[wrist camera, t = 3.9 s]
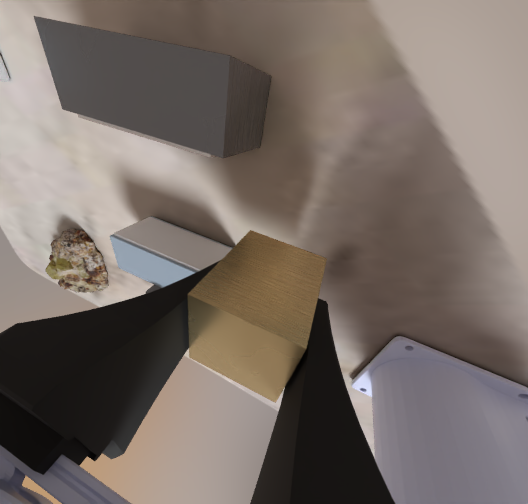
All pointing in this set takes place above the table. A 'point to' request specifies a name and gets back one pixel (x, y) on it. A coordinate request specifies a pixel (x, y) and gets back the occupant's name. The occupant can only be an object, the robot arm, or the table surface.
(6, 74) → the skincare box
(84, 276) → the mineral rock
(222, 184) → the table surface
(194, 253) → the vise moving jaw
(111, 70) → the grey block
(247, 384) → the brass block
